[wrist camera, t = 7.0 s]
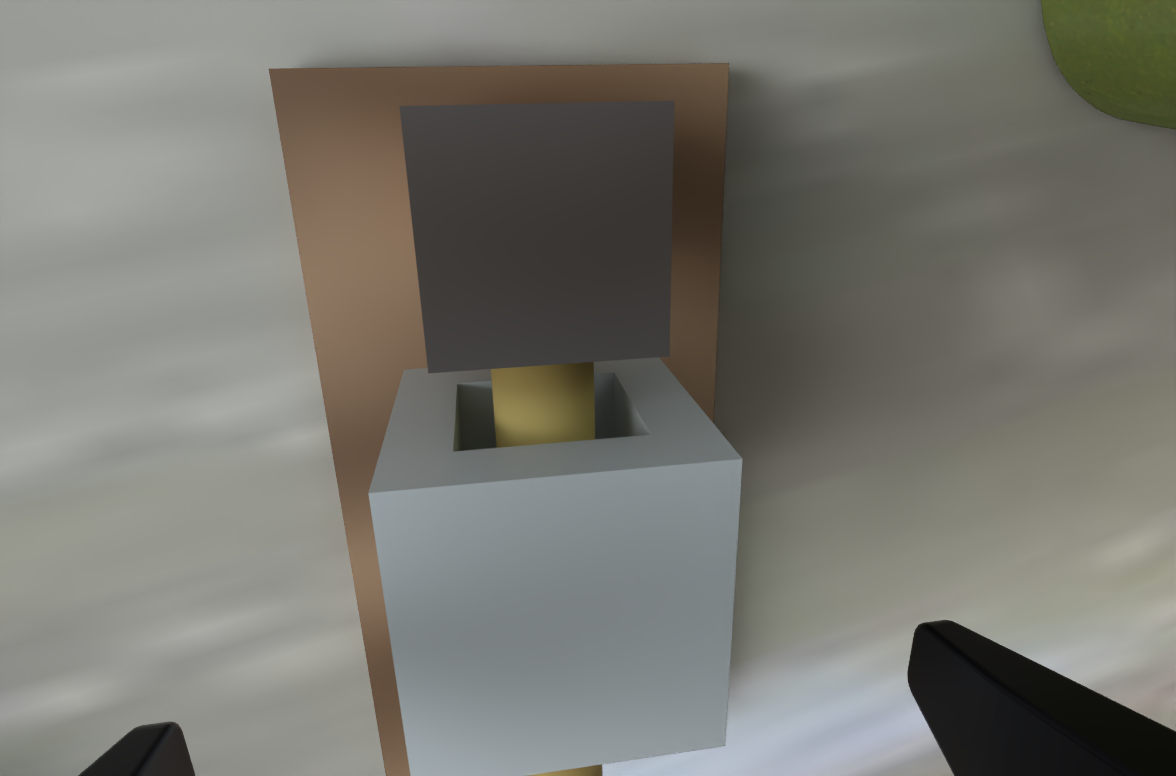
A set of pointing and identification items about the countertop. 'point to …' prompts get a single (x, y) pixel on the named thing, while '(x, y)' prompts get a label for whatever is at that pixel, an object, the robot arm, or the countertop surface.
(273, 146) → the countertop surface
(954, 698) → the robot arm
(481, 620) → the white cube with hole
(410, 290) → the cord clamp board
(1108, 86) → the plant pot
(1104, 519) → the countertop surface
